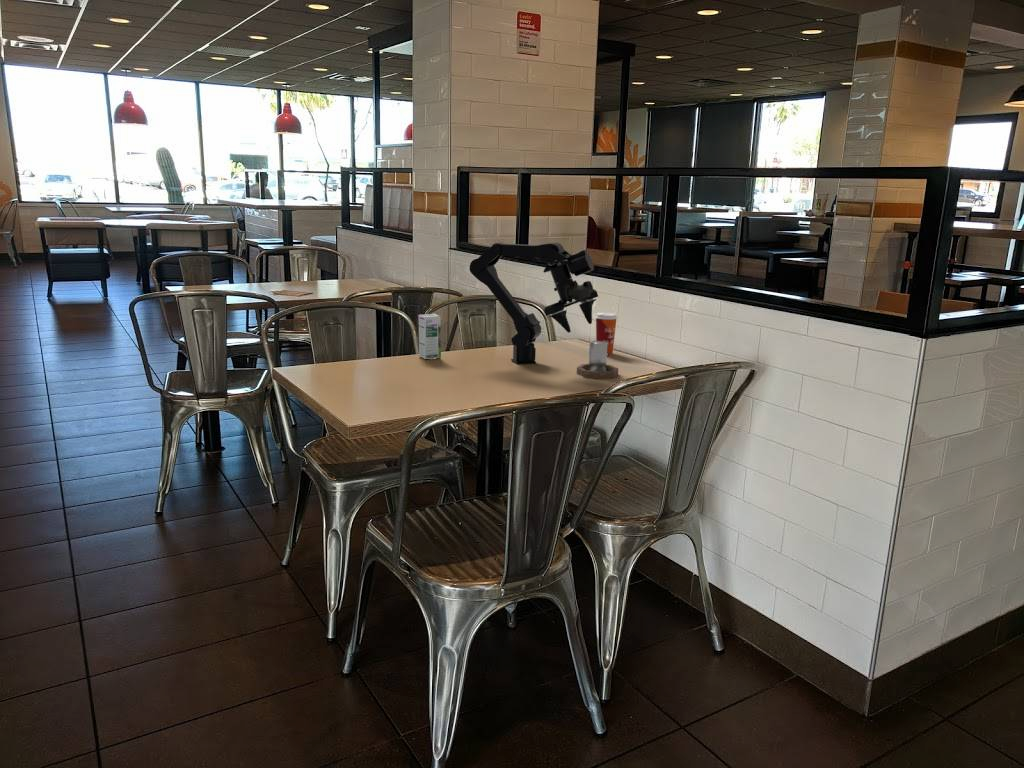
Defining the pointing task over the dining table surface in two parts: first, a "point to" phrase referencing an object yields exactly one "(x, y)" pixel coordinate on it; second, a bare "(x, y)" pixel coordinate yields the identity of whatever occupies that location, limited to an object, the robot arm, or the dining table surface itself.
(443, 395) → the dining table surface
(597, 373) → the bore ring
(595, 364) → the metal tumbler
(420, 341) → the syrup box
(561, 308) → the robot arm
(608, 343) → the paper cup
